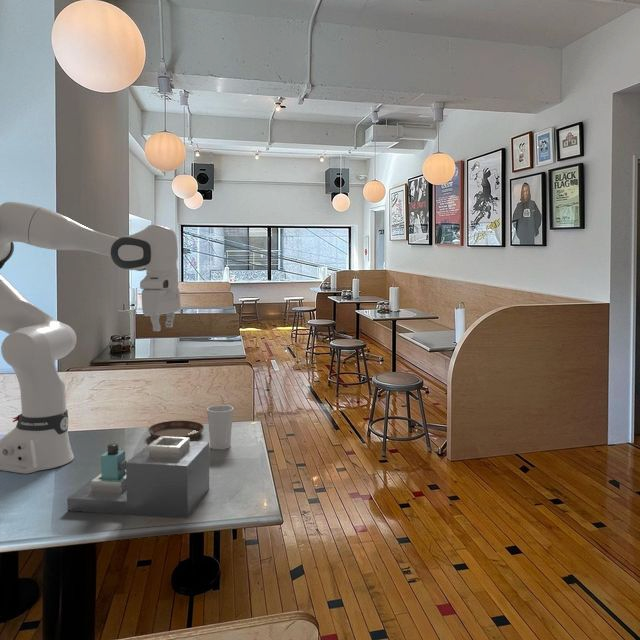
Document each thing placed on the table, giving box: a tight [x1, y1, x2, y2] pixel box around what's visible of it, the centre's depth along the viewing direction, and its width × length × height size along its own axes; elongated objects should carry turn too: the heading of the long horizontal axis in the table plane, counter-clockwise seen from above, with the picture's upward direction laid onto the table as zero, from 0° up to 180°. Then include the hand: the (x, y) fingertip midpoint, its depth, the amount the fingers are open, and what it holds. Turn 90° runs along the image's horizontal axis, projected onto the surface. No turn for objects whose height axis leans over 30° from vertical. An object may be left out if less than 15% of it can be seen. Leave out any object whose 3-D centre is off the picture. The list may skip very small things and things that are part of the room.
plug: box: [100, 443, 128, 480], centre depth 127 cm, size 5×4×10 cm
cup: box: [206, 404, 234, 450], centre depth 164 cm, size 8×8×12 cm
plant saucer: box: [148, 419, 205, 441], centre depth 174 cm, size 18×18×3 cm
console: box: [66, 436, 210, 519], centre depth 126 cm, size 28×16×14 cm, turn 85°
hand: (163, 329), depth 155 cm, fingers open, 8 cm apart
